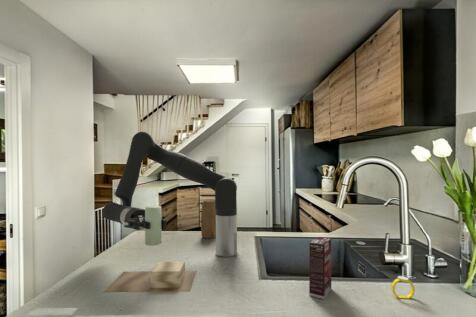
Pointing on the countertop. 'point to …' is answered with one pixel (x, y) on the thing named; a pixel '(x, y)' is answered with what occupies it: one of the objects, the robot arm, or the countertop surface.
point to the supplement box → (320, 267)
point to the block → (208, 219)
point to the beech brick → (168, 274)
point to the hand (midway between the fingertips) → (157, 224)
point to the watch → (403, 279)
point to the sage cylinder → (153, 225)
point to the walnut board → (146, 283)
